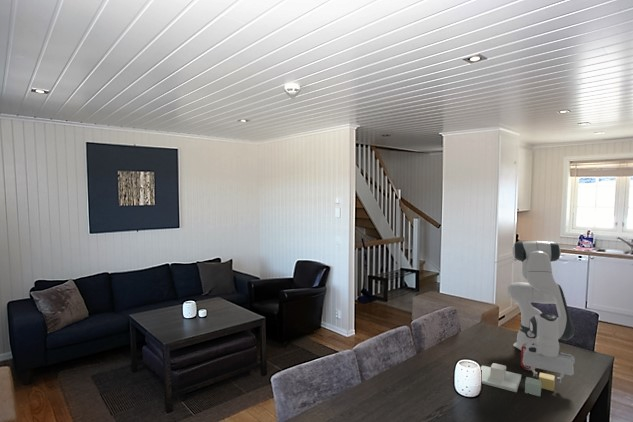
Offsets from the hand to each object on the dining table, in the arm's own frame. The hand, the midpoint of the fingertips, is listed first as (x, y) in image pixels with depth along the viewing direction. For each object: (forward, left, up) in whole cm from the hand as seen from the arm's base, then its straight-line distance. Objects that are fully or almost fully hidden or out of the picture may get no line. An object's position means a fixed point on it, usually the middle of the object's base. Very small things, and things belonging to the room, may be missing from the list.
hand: (547, 379), depth 173 cm
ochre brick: (-1, 0, -4) cm, 4 cm away
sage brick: (+9, -5, -4) cm, 11 cm away
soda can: (-17, -9, -4) cm, 20 cm away
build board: (+5, -20, -4) cm, 21 cm away
